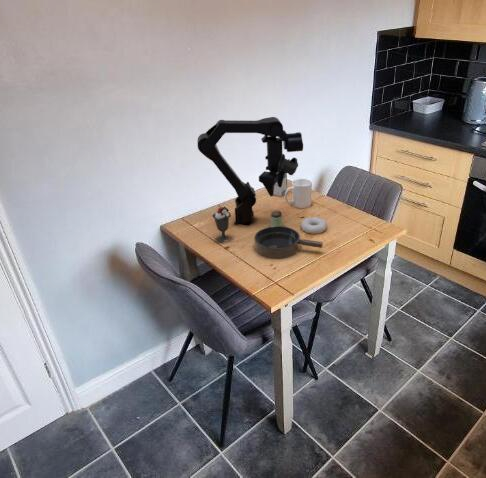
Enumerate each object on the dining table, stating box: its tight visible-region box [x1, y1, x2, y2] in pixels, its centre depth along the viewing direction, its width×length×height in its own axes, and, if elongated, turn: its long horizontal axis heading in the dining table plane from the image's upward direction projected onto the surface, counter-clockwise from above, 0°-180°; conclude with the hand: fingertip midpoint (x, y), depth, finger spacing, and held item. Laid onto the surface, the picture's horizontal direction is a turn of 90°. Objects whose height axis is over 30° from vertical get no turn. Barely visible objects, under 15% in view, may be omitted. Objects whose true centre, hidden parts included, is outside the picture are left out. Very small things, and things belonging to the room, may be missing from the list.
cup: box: [284, 178, 313, 209], centre depth 182 cm, size 8×12×10 cm
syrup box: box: [268, 170, 288, 197], centre depth 192 cm, size 6×6×14 cm
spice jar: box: [270, 210, 284, 227], centre depth 165 cm, size 5×5×7 cm
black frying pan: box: [253, 225, 301, 260], centre depth 153 cm, size 16×16×4 cm
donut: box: [300, 216, 328, 235], centre depth 165 cm, size 10×4×10 cm
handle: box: [298, 239, 324, 249], centre depth 149 cm, size 8×2×2 cm, turn 72°
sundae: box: [211, 204, 232, 244], centre depth 156 cm, size 7×7×15 cm
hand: (275, 191), depth 168 cm, fingers open, 9 cm apart
